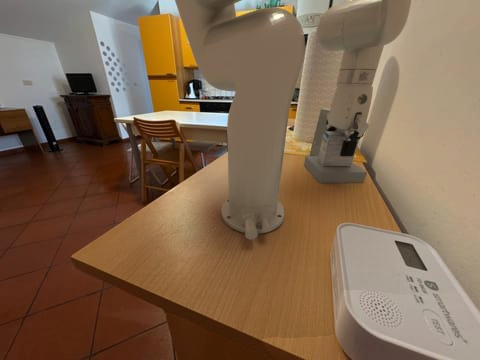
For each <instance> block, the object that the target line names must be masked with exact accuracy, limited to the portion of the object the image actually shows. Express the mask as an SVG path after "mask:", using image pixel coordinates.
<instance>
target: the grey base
mask: <svg viewBox="0 0 480 360" xmlns="http://www.w3.org/2000/svg"><path fill="white" fill-rule="evenodd" d="M318 157H319V156H312V155H306V156H305V157H304V163H303V166H304V167H305V168H306V169H307V171H308V172H310V174H311V175H312V176H313V177H314V178H315V180H316V181H317V182H318V183H319V184H341V183H343V184H348V183H349V184H350V183H352V184H354V183H355V184H356V183H365V180H366V177H367V175H368V171H366V169H363V168H362V167H360V166H359V165H357V164H356V163H355V162H352V165H351V167H348V166H322V165H321V164H320V162H319V161H318Z"/></svg>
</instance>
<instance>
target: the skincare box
mask: <svg viewBox="0 0 480 360" xmlns="http://www.w3.org/2000/svg"><path fill="white" fill-rule="evenodd" d="M330 108H331V107H329V108H325V107H322V108H321V109H320V111H319V115H318V116H319V117H318V118H317V119H318V120H317V124H316V127H315V131H314V134H313V139H312V142H311V147H310V150H309V156H319V152H320V147H321V142H322V138H323V133H324V132H325V131H327V130H326V126H327V125H326V121H327V113H328V112H330ZM336 131H337V132H345V131H342V130H340V129H338V128H337V130H336Z"/></svg>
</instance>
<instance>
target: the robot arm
mask: <svg viewBox="0 0 480 360" xmlns="http://www.w3.org/2000/svg"><path fill="white" fill-rule="evenodd" d="M174 1H175V4H176V8H177V11H178V15H179V17H180V21H181V23H182V26H183V29H184V32H185V35H186V37H187V41H188V44H189V47H190V49H191V52H192V56H193V58H194V61H195V64H196V66H197V69H198V70H199V72H200V74H201V75H202V78H203V79H204V80H205V81H206V82H207V83H208V84H209V85H210V86H211V87H213V88H215V89H217V90H219V91H220V90H221V91H225V92H234V96H233V98H232V100H231V101H232V102H231V103H230V108H229V111H228V116H227V126H226V131H227V132H226V133H227V134H226V135H227V171H228V172H227V176H228V177H227V178H228V181H227V182H228V198H226V199H225V200H224V201H223V203H222V204H221V209H220V211H221V212H220V213H221V218H222V219H223V222H224V223H225V224H226V225H227V226H228V227H229V228H231V229H233V230H236V231H237V232H240V233H244V234H245V235H244V236H245V238H246V239H248V240H255V239H256V238H258V235H259V234H265V233H270V232H271V231H274V230H275V229H277V228H278V227H280V225H282V223H283V222H284V220H285V213H286V212H285V208H284V206H283V204H282V202H280V200H279V196H280V195H279V194H280V187H281V180H282V170H283V162H284V155H285V147H286V146H285V145H286V141H287V140H286V139H287V138H286V137H287V131H288V130H287V129H288V122H289V116H290V112H291V111H290V110H291V106H292V105H291V104H292V101H293V97H294V93H295V90H296V87H297V86H296V85H297V83H298V79H299V76H300V75H301V74H300V73H301V70H302V65H303V62H304V57H305V50H306V39H305V33H304V29H303V27H302V25H301V22H300V20H299V19H298V18H297V17H296V16H295V14H293V13H292V12H290V11H289V10H286V9H284V8H279V7H264V8H258V9H255V10H252V11H249V12H247V13H246V12H245V13H244V14H241V15H238V16H237V11H236V7H235V6H236V4H237V3H239V2H241V1H242V0H174ZM411 6H412V0H348V1H345V2H341V3H338V4H335V5H333V6H331V7H329V8H328V9H327V10H326V11H325V12H323V14H322V16H320V19H319V21H318V24H317V27H316V28H317V29H316V36H317V37H316V38H317V41H318V43H319V45H320V46H321V48H323V49H324V50H326V51H329V52H338V51H339V52H340V51H343V53H342V57H341V62H340V65H339V71H338V76H337V80H336V83H335V86H336V89H335V91H334V94H333V98H332V100H331V101H332V102H331V104H330V107H329V108H330V112H328V113H327V121H326V125H327V126H326V130H327V131H334V132H337V131H336V130H337V128H338V129H340V130H342V131H345V137H346V140H344V141H343V145H342V148H341V152H340V156H353V155H354V151H355V148H356V145H357V142H358V141H361V138H363V137H364V134H365V133H366V132H367V130H368V129H369V123H368V122H367V120H368V116H369V113H370V109H371V104H372V99H373V91H374V86H373V83H374V81H375V77H376V74H377V69H378V67H379V64H380V60H381V57H382V54H383V50H384V47H385V46H387V45H389V44H391V43H392V42H394V41H395V40H396V39H397V38H398V37H399V36H400V34H401V33H402V32H403V30H404V28H405V25H406V23H407V21H408V18H409V14H410V10H411ZM350 132H353V134H352V135H351V134H350ZM354 156H355V155H354Z"/></svg>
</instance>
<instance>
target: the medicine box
mask: <svg viewBox="0 0 480 360" xmlns="http://www.w3.org/2000/svg"><path fill="white" fill-rule="evenodd" d="M353 133H354V132H350V134H351V135H352V134H353ZM344 140H346V137H345V132H334V131H325V132H324V133H323V138H322V142H321V147H320V152H319V157H318V161H319V162H320V164H321V165H322V166H348V167H351V165H352V162H353V161H354V159H355V156H356V151H357V149H358V146H359V143H360V142H359V141H358V142H357V145H356V148H355V151H354V155H353V156H340V152H341V148H342V145H343V141H344ZM353 163H354V162H353Z"/></svg>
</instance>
